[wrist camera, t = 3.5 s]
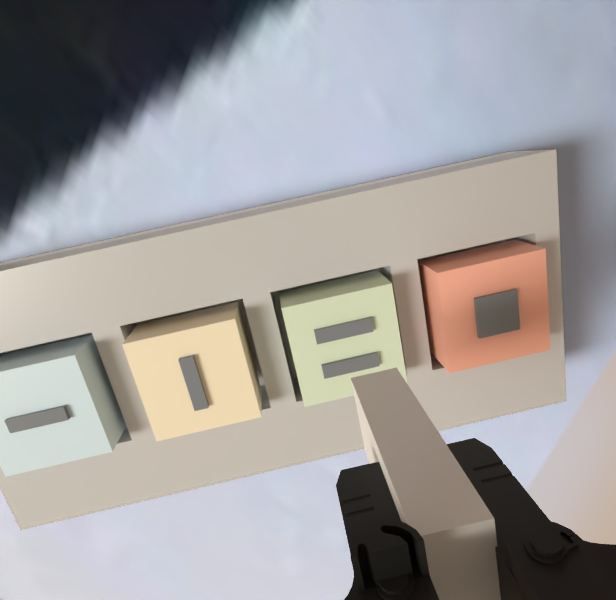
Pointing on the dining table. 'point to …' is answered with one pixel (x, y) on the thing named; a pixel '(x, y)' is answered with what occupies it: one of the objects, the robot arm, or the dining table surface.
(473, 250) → the key coral
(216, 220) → the keypad
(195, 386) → the key sand
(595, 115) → the dining table surface
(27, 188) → the dining table surface
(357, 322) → the key sage
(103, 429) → the key blue
